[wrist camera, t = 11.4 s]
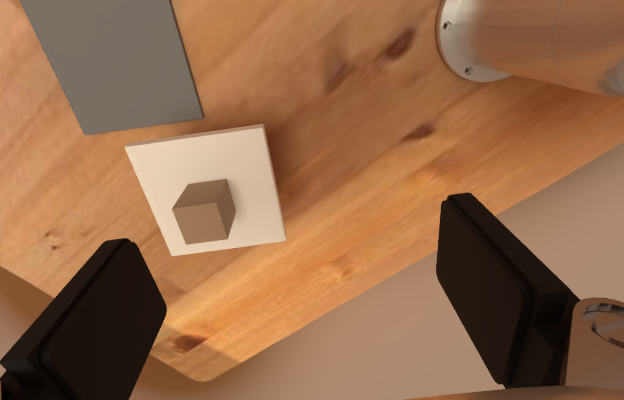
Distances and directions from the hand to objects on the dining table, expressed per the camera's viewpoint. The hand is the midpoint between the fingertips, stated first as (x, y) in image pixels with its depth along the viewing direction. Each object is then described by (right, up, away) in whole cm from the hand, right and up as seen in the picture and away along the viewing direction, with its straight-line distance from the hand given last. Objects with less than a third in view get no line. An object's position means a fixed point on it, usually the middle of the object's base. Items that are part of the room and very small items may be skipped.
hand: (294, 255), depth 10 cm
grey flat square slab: (-20, +17, +25) cm, 36 cm away
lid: (-9, +2, +21) cm, 23 cm away
